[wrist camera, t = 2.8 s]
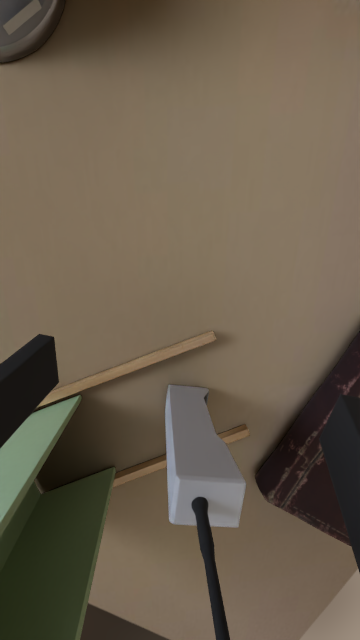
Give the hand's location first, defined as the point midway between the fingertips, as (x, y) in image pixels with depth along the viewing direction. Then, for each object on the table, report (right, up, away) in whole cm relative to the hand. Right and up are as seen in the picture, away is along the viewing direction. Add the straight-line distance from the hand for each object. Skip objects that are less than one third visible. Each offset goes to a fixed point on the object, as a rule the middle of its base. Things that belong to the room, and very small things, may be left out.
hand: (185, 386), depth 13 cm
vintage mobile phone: (0, -7, +23) cm, 24 cm away
